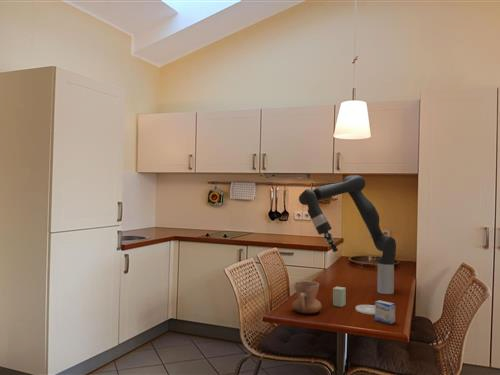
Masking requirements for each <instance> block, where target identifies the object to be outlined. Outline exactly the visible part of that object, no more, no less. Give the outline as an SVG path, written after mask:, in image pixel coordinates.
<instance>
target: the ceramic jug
mask: <svg viewBox="0 0 500 375" xmlns="http://www.w3.org/2000/svg"><path fill="white" fill-rule="evenodd" d="M293 286H294V289H295V292H296V295H297V297H298V298H296V299H294V300H293V302H292V304H291V307H292V309H293V310H294V311H295V312H297V313H300V314H303V315H305V314H306V315H312V314H313V315H314V314H317V313H318V312H320V311H321V309H322V307H323V305H322V302H321V301H319V299H317V298H316V296H317V294H318V292H319V287H320V283H319V282H317V281H313V280H311V281H310V280H299V281H296V282H294V283H293Z"/></svg>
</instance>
